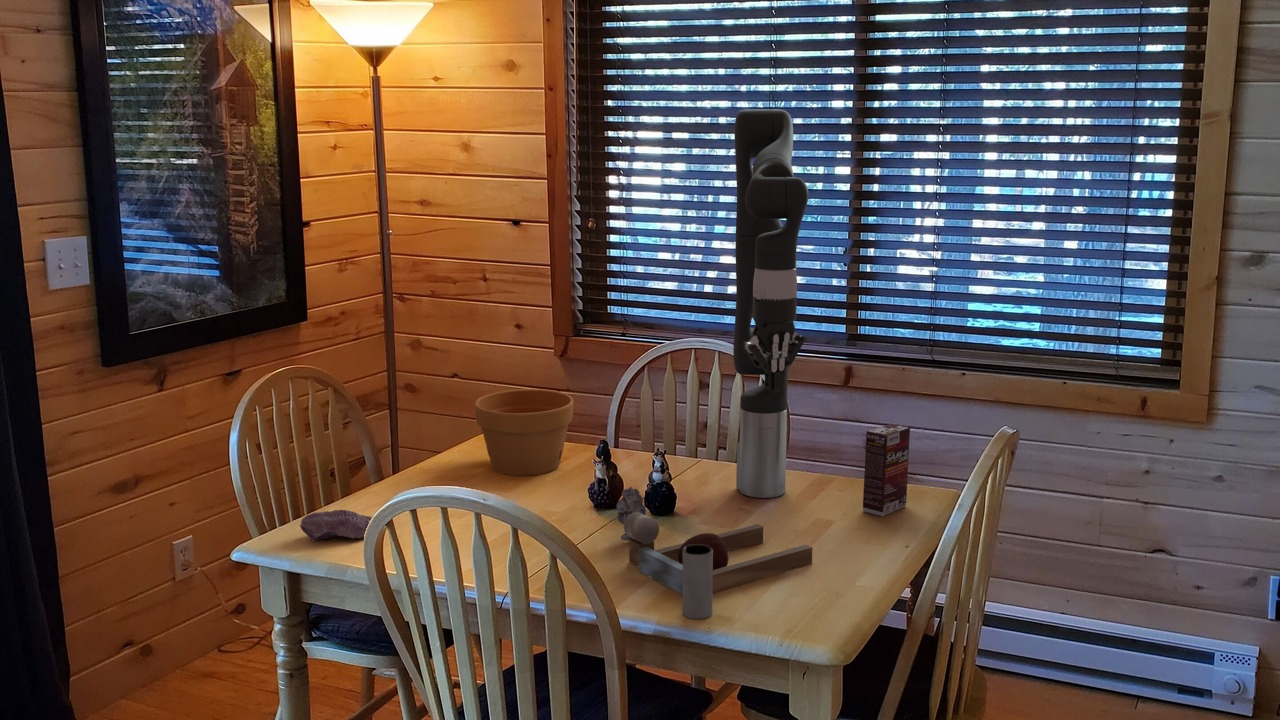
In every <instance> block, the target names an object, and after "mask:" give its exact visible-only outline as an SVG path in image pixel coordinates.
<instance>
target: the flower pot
mask: <svg viewBox="0 0 1280 720" xmlns="http://www.w3.org/2000/svg"><path fill="white" fill-rule="evenodd" d="M574 405H575V404H574V398H573V397H572V396H571V395H570V394H568V393H565V392H561V391H557V390H550V389H536V388H523V389H521V388H519V389H507V390H501V391H496V392H491V393H489V394H488V393H487V394H484V395H482V396H480V397H478V398H477V399H476V400H475V402H474V411H475V418H476V423H477V424H478V426H479V427H480V428H481V430H482V435H483V438H484V442H485V446H486V451H487V453H488V454H487V455H488V457H489V461H490V463H491V466H492V468H493V470H495V471H496V472H498V473H499V474H503V475H507V476H508V475H509V476H516V477H517V476H519V477H531V476H539V475H543V474H547V473H550V472H553V471H555V470H556V469H558V468H559V466H560V464H561V459H562V457H563V452H564V447H565V442H566V438H567V433H568V427H569V424H570V423H571V422H572V421H573V418H574Z"/></svg>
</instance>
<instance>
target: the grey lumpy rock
mask: <svg viewBox="0 0 1280 720" xmlns="http://www.w3.org/2000/svg"><path fill="white" fill-rule="evenodd" d="M621 497H622V498H621V499H620V500H618V501H617V503H616V505H615V506H616V510H617V511H618V513H617V520H618V522H619V523H620V524H622V525H624V523H625V521H626V519H627V517H628V516H629V515H630V514H632V513H634V512H639V513H642V514H644V515H646V514H647V509H646V506H645V505H644V499H643V497H642V495H641V492H640V491H639V490H638V489H637V488H633V487H632V486H629V487H628V488H625V489H623V490H622V491H621ZM620 539H621V541H626V542H629V540H630V539H633V538H631V537H629V536H627V535H626V533H625V532H624V533H623V534H622V535H621V536H620Z"/></svg>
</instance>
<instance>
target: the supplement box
mask: <svg viewBox="0 0 1280 720" xmlns="http://www.w3.org/2000/svg"><path fill="white" fill-rule="evenodd" d="M910 433H911V428H910V427H908V426H904V425H900V424H895V423H889V424H887V425H883V426H880V427H877V428H874V429H870V430H867V431H866V434H865V456H864V473H863V474H864V477H863V478H864V479H863V496H862V511H863V512H864V513H866V514H870V515H871V514H872V515H875V516H878V517H884V516H886V515H888V514H891V513H893V512H895V511H898V510H900V509H903V508H906V507H907V497H908V478H909V477H908V475H909V474H908V473H909V472H908V470H909V457H910V456H909V454H910V453H909V452H910V435H911V434H910ZM905 506H906V507H905Z"/></svg>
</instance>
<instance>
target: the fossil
mask: <svg viewBox="0 0 1280 720" xmlns="http://www.w3.org/2000/svg"><path fill="white" fill-rule="evenodd" d="M372 517H373V516H370V515H369V516H367V515H363V514H360V513H357V512H354V511H351V510H347V509H337V510H335V509H334V510H330V511H329V510H326V511H325V510H324V511H322V512H321V511H320V512H313V513H310V514H307V515H306V516H303V518H302V519H301V523H300V525H299V527H300V529H301V530H302V531H303V533H304V534H305V535H306V536H307V537H308V538H309V539H310V540H311V541H313V542H314V541H319V540H320V541H321V540H324V539H334V538H337V537H345V538H350V539H363V540H365V539H364V534H365V531H366V528H367V526H368V524H369V521H370V520H371V518H372Z"/></svg>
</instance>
